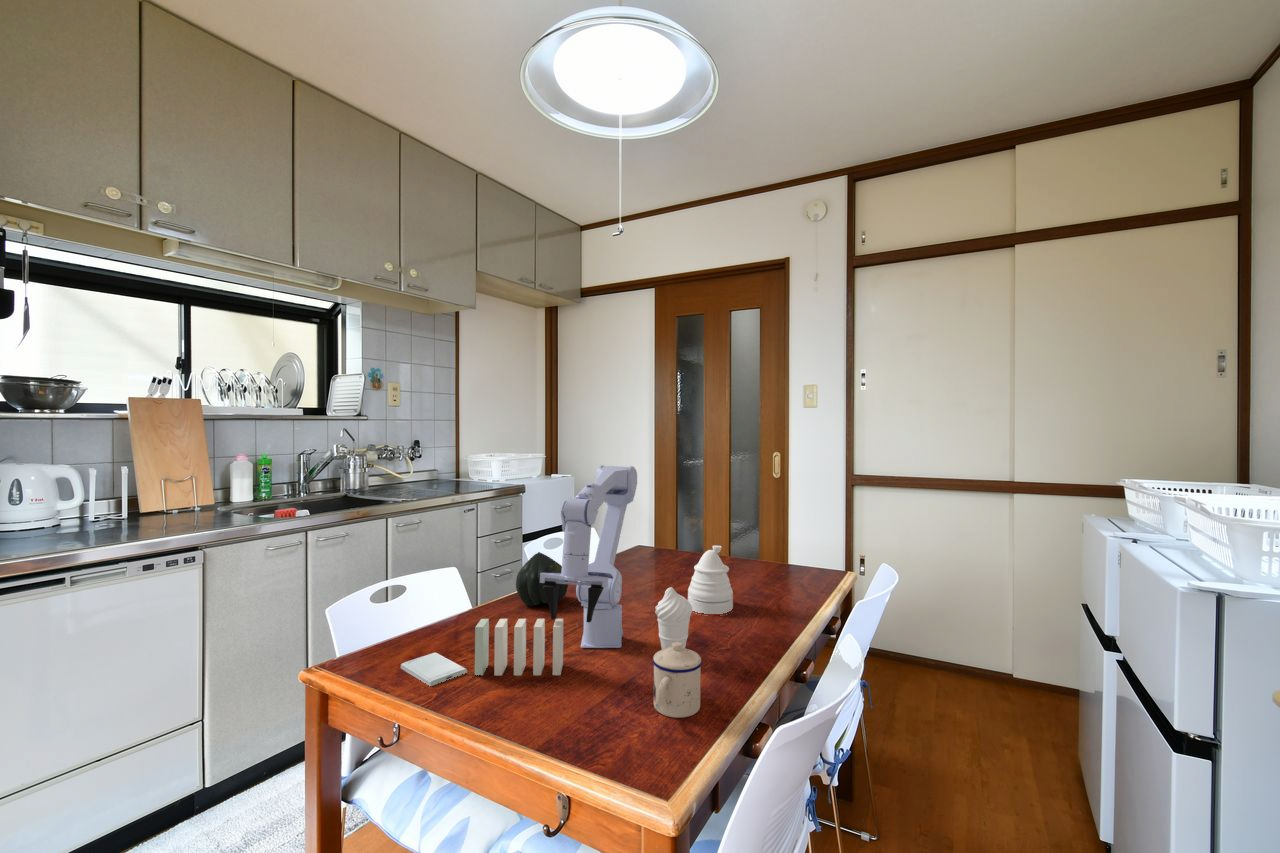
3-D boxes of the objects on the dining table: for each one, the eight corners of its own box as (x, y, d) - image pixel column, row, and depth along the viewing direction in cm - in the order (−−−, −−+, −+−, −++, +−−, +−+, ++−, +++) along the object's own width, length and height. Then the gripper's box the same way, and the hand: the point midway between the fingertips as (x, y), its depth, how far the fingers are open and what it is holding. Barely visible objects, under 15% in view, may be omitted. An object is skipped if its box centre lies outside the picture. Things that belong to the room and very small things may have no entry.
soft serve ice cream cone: (695, 654, 125) (696, 584, 125) (686, 670, 117) (687, 594, 118) (660, 649, 128) (661, 580, 128) (649, 664, 120) (650, 590, 120)
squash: (555, 595, 151) (564, 546, 161) (503, 594, 153) (516, 546, 163) (567, 617, 161) (575, 570, 171) (518, 615, 163) (529, 569, 173)
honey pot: (739, 606, 160) (740, 544, 160) (721, 619, 149) (722, 552, 149) (699, 598, 167) (700, 539, 167) (679, 610, 156) (680, 546, 156)
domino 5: (562, 664, 119) (563, 618, 119) (560, 675, 114) (560, 626, 114) (555, 664, 119) (555, 618, 119) (552, 675, 114) (553, 626, 114)
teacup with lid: (664, 690, 108) (664, 631, 108) (708, 701, 104) (709, 639, 104) (636, 719, 97) (637, 653, 97) (684, 732, 93) (685, 663, 93)
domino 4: (544, 664, 119) (544, 618, 119) (540, 675, 114) (541, 627, 114) (536, 664, 119) (537, 618, 119) (533, 675, 114) (533, 627, 114)
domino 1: (488, 665, 119) (488, 618, 119) (482, 675, 114) (483, 627, 114) (480, 665, 119) (481, 618, 119) (474, 675, 114) (475, 627, 114)
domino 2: (507, 665, 119) (507, 618, 119) (502, 675, 114) (502, 627, 114) (499, 665, 119) (500, 618, 119) (494, 675, 114) (494, 627, 114)
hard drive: (400, 663, 117) (430, 681, 109) (436, 651, 123) (467, 667, 115) (400, 671, 117) (430, 689, 109) (436, 659, 123) (467, 675, 115)
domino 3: (525, 665, 119) (526, 618, 119) (521, 675, 114) (522, 627, 114) (518, 665, 119) (518, 618, 119) (513, 675, 114) (514, 627, 114)
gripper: (538, 553, 116) (532, 620, 114) (606, 558, 114) (601, 626, 112) (547, 551, 123) (542, 614, 120) (611, 555, 121) (607, 620, 119)
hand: (571, 620), depth 117 cm, fingers open, 7 cm apart
